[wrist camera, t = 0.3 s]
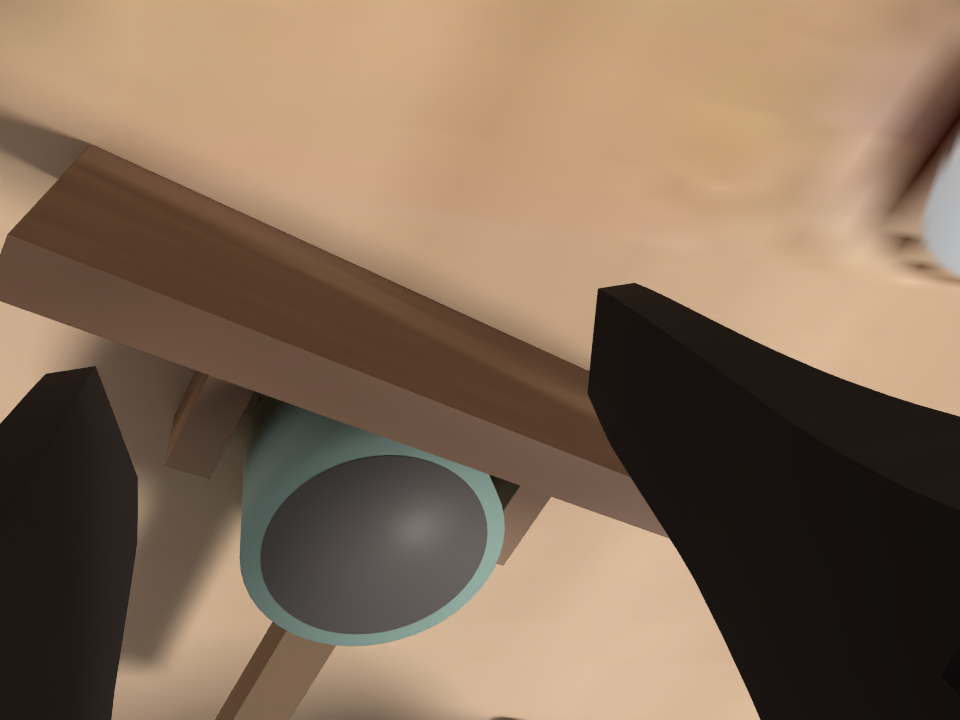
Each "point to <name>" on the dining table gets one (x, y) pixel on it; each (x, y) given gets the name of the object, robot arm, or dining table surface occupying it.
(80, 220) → the holder
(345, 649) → the dining table surface
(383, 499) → the pot
